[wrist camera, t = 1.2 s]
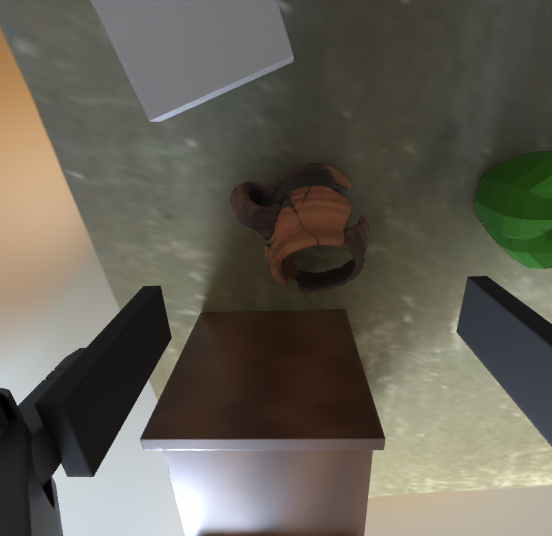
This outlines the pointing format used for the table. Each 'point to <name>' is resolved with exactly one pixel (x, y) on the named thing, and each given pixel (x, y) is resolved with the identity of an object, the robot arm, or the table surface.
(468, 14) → the table surface
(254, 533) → the shelf
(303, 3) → the table surface
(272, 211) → the pottery mug
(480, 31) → the table surface
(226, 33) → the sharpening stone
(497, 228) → the bell pepper
